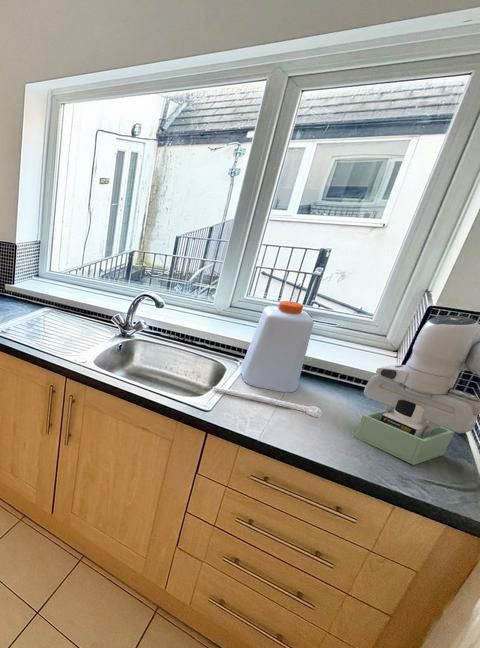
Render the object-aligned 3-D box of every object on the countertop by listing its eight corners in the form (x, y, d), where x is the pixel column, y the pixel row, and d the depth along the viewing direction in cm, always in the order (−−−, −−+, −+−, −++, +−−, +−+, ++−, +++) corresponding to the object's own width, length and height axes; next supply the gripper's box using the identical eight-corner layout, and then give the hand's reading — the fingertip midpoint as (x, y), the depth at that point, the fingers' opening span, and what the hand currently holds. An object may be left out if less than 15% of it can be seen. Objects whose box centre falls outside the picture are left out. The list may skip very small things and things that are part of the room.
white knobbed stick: (211, 393, 134) (213, 386, 133) (211, 388, 137) (214, 380, 136) (321, 420, 120) (324, 412, 119) (319, 414, 124) (322, 405, 122)
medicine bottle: (373, 436, 111) (389, 397, 107) (391, 431, 113) (407, 392, 109) (406, 452, 105) (425, 411, 100) (424, 447, 107) (443, 406, 102)
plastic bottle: (297, 397, 134) (328, 314, 123) (243, 386, 140) (267, 307, 129) (288, 376, 146) (314, 300, 135) (238, 367, 152) (259, 294, 141)
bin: (443, 454, 106) (454, 431, 103) (413, 465, 102) (424, 441, 99) (383, 428, 117) (392, 407, 114) (353, 436, 113) (362, 414, 110)
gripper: (495, 397, 94) (468, 449, 99) (384, 362, 112) (367, 407, 117) (479, 402, 92) (453, 454, 97) (369, 365, 110) (352, 411, 115)
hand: (405, 428), depth 107 cm, fingers closed on medicine bottle, 5 cm apart
